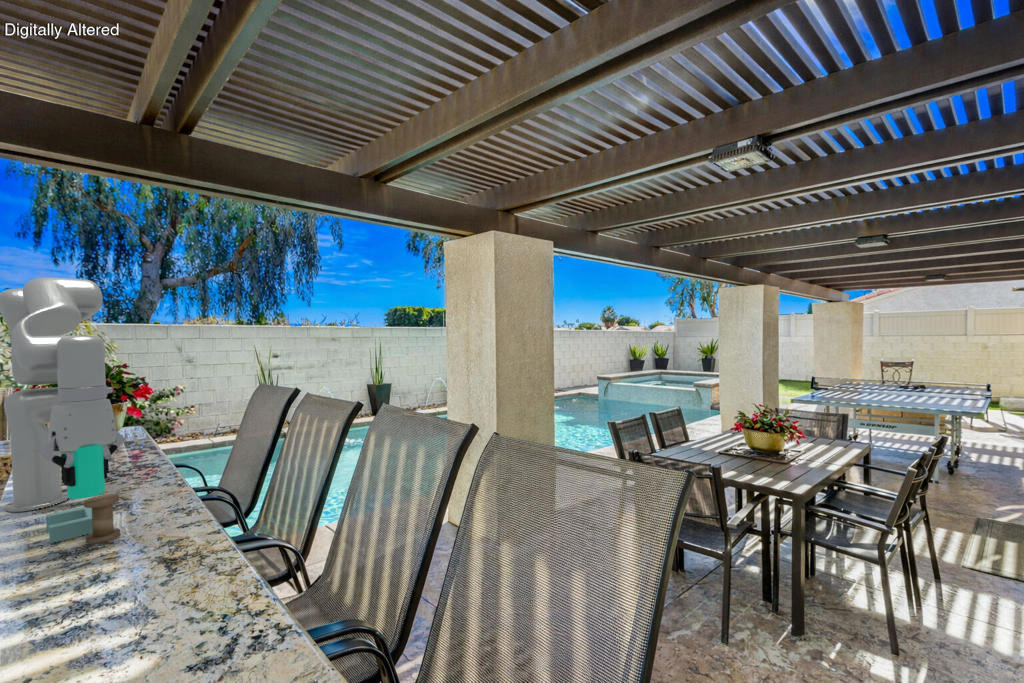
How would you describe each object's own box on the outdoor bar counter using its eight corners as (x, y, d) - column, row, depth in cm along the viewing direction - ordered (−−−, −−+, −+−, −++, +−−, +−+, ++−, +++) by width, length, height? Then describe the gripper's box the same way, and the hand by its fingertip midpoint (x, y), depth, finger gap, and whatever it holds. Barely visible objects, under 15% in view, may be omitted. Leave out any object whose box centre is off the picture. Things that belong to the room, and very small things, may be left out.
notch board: (46, 529, 116) (46, 514, 115) (96, 518, 122) (95, 504, 122) (50, 543, 107) (49, 528, 107) (103, 531, 114) (102, 516, 114)
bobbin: (79, 541, 108) (78, 501, 108) (111, 531, 114) (109, 492, 113) (95, 545, 106) (93, 504, 106) (126, 535, 111) (124, 495, 111)
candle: (83, 500, 99) (80, 441, 99) (59, 498, 100) (57, 440, 100) (112, 490, 105) (110, 434, 104) (90, 489, 106) (87, 434, 106)
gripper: (118, 389, 111) (121, 468, 112) (19, 400, 96) (23, 492, 96) (138, 390, 108) (141, 472, 109) (39, 401, 93) (43, 496, 93)
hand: (86, 480), depth 102 cm, fingers closed on candle, 4 cm apart
